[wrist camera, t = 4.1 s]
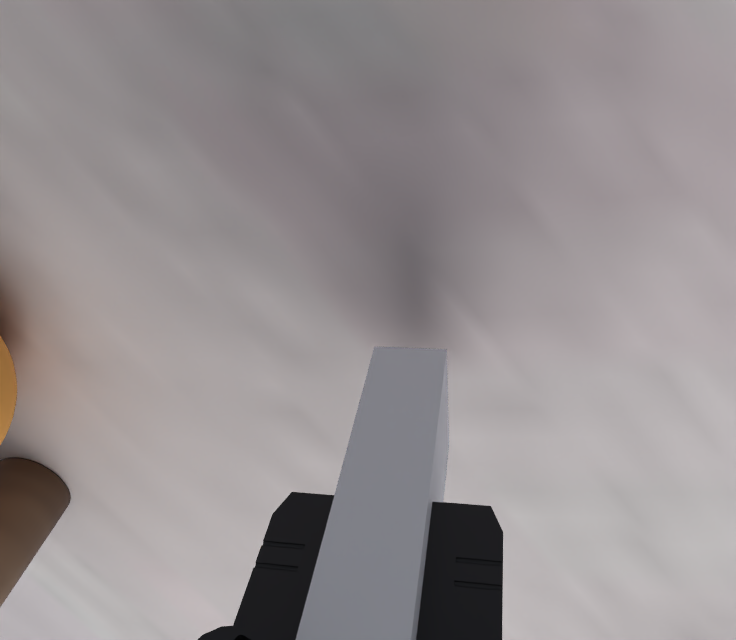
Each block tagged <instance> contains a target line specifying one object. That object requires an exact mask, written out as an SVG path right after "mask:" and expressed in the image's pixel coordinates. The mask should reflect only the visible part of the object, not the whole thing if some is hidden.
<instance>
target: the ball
mask: <svg viewBox="0 0 736 640" xmlns="http://www.w3.org/2000/svg"><path fill="white" fill-rule="evenodd" d="M16 399H17V381H16V373H15V369H14V364H13V360H12V358H11V355H10V353H9V350H8V348H7V346H6V344H5V343H4V341H3V339H2V338H1V336H0V445H1V443H2V441H3V440H4V438H5V436H6V434H7V432H8V429H9V427H10V424H11V421H12V418H13V415H14V410H15V405H16Z"/></svg>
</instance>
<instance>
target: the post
mask: <svg viewBox="0 0 736 640" xmlns="http://www.w3.org/2000/svg"><path fill="white" fill-rule="evenodd" d="M69 503H70V494H69V491H68V489H67V487H66V485H65V484H64V483H63V481H62V480H61V479H60V478H59V477H58V476H57V475H56V474H54V473H53V472H52V471H50V470H49V469H47V468H45V467H44V466H42V465H40V464H38V463H35V462H32V461H29V460H25V459H20V458H8V459H4V460H1V461H0V607H1V605H2V604H3V602H4V601H5V599H6V598H7V596H8V595H9V593H10V592H11V590H12V589H13V587H14V586H15V584H16V583H17V581H18V580H19V579H20V577H21V576H22V574H23V573H24V571H25V570H26V568H27V567H28V565H29V564H30V562H31V561H32V559H33V558H34V556H35V555H36V553H37V552H38V550H39V549H40V547H41V546H42V544H43V543H44V541H45V540H46V538H47V537H48V535H49V534H50V532H51V531H52V529H53V528H54V526H55V525H56V523H57V522H58V520H59V519H60V517H61V516H62V514H63V513H64V511H65V510H66V508H67V507H68V505H69Z"/></svg>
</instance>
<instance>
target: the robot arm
mask: <svg viewBox="0 0 736 640" xmlns="http://www.w3.org/2000/svg"><path fill="white" fill-rule="evenodd" d="M448 450H449V424H448V376H447V349H427V348H400V347H374V351H373V354H372V358H371V362H370V365H369V369H368V373H367V377H366V380H365V384H364V388H363V391H362V395H361V399H360V402H359V406H358V410H357V414H356V417H355V421H354V425H353V428H352V432H351V436H350V440H349V443H348V447H347V451H346V454H345V458H344V462H343V466H342V469H341V473H340V477H339V480H338V484H337V488H336V491H335V495H323V494H310V493H298V492H291V494H290V495H289V496H288V497H287V498H286V499H285V501H284V502H283V503H282V504H281V505H280V506H279V507H278V509H277V510H276V511H275V512H274V513H273V515H272V517H271V520H270V523H269V526H268V529H267V532H266V534H265V537H264V540H263V546H261V549H260V551H259V554H258V557H257V560H256V566H255V568H253V571H252V574H251V577H250V580H249V582H248V585H247V588H246V591H245V594H244V596H243V599H242V602H241V605H240V608H239V611H238V613H237V616H236V619H235V622H234V625H233V626H224V627H220V628H217V629H215V630H213V631H211V632H208V633H206V634H204V635H202V636H201V637H200V638H199V639H198V640H502V586H503V531H502V529H501V527H500V525H499V523H498V521H497V518H496V516H495V514H494V512H493V510H492V508H491V506H482V505H469V504H457V503H444V502H443V499H444V490H445V480H446V470H447V460H448Z"/></svg>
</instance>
